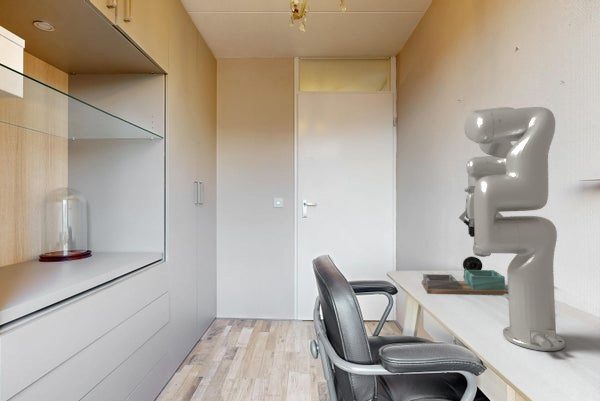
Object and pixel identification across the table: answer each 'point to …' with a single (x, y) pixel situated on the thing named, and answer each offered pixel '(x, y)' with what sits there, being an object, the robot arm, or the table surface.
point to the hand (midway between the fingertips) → (481, 236)
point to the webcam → (472, 263)
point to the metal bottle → (476, 250)
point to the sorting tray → (466, 283)
